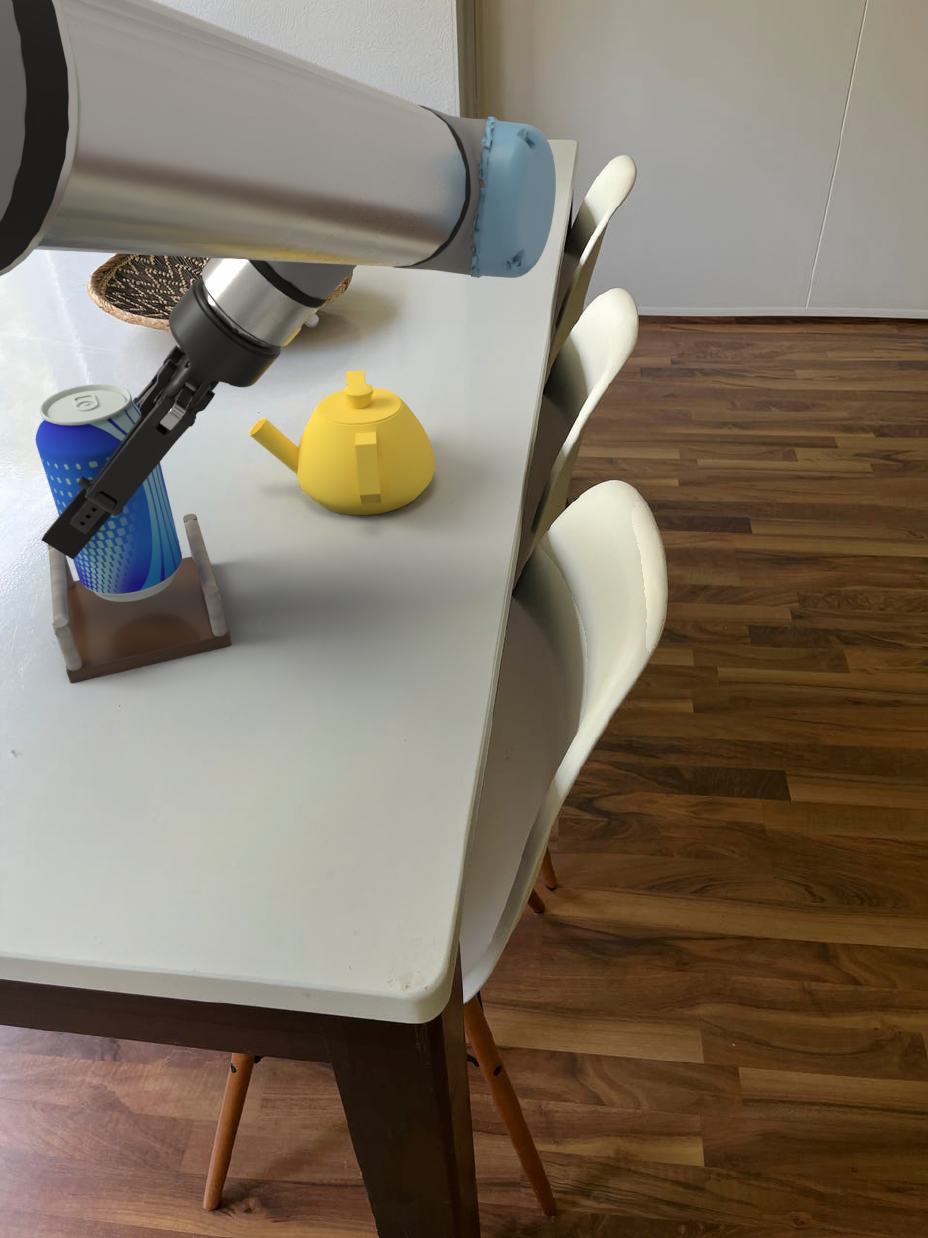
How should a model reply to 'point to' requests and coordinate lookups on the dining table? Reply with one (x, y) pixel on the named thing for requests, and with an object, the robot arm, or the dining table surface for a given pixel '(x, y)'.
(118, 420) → the beer can
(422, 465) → the teapot
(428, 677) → the dining table surface
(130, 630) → the rail rack
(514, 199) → the robot arm
